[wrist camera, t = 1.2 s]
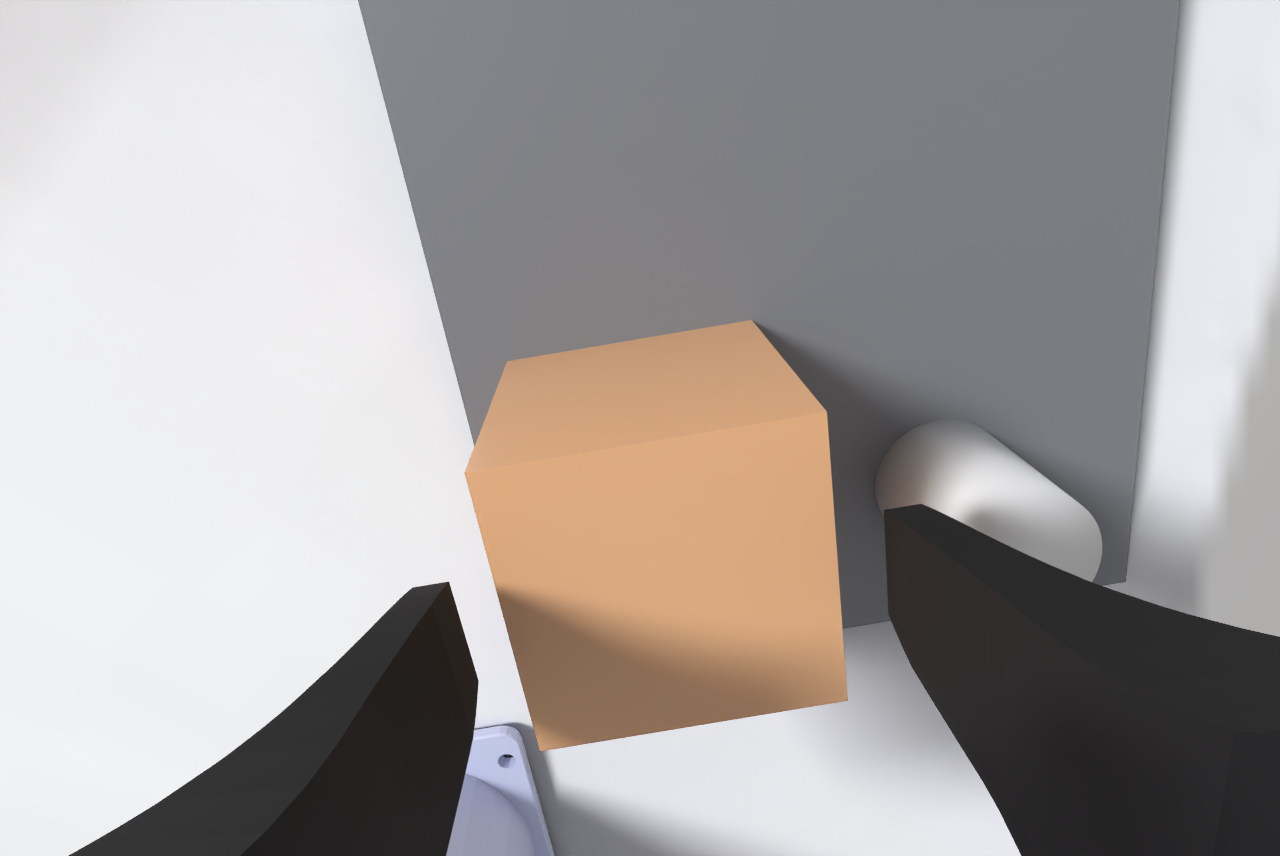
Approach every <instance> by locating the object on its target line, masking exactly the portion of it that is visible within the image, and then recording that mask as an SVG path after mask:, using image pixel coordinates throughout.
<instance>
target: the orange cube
mask: <svg viewBox="0 0 1280 856" xmlns="http://www.w3.org/2000/svg"><path fill="white" fill-rule="evenodd" d="M465 476H466V480H467V484H468V487H469V491H470V495H471V498H472V502H473V506H474V509H475V513H476V517H477V521H478V524H479V528H480V532H481V535H482V539H483V543H484V546H485V550H486V554H487V558H488V561H489V565H490V569H491V572H492V576H493V580H494V583H495V587H496V591H497V595H498V598H499V602H500V606H501V609H502V613H503V617H504V620H505V624H506V628H507V632H508V635H509V639H510V643H511V646H512V650H513V654H514V657H515V661H516V665H517V669H518V672H519V676H520V680H521V683H522V687H523V691H524V694H525V698H526V702H527V705H528V709H529V713H530V717H531V720H532V724H533V728H534V731H535V735H536V739H537V742H538V746H539V750H540V751H545V750H551V749H557V748H563V747H570V746H576V745H582V744H588V743H594V742H600V741H606V740H612V739H618V738H624V737H630V736H636V735H642V734H648V733H654V732H660V731H666V730H673V729H679V728H685V727H691V726H697V725H703V724H709V723H715V722H721V721H727V720H733V719H739V718H745V717H751V716H757V715H763V714H769V713H776V712H782V711H788V710H794V709H800V708H806V707H812V706H818V705H824V704H830V703H836V702H842V701H848V698H847V684H846V670H845V656H844V643H843V629H842V615H841V601H840V587H839V573H838V559H837V545H836V531H835V517H834V503H833V489H832V475H831V462H830V448H829V434H828V420H827V411H826V410H825V409H824V408H823V407H822V405H821V404H820V403H819V402H818V400H817V399H816V398H815V397H814V396H813V394H812V393H811V392H810V391H809V389H808V388H807V387H806V386H805V385H804V383H803V382H802V381H801V380H800V378H799V377H798V376H797V375H796V373H795V372H794V371H793V370H792V369H791V367H790V366H789V365H788V364H787V362H786V361H785V360H784V359H783V358H782V356H781V355H780V354H779V353H778V351H777V350H776V349H775V348H774V347H773V345H772V344H771V343H770V342H769V340H768V339H767V338H766V337H765V336H764V334H763V333H762V332H761V331H760V329H759V328H758V327H757V326H756V325H755V323H754V322H753V321H752V320H749V321H743V322H737V323H731V324H725V325H719V326H713V327H707V328H701V329H696V330H690V331H684V332H678V333H672V334H666V335H660V336H654V337H648V338H642V339H636V340H631V341H625V342H619V343H613V344H607V345H601V346H595V347H589V348H583V349H577V350H571V351H565V352H560V353H554V354H548V355H542V356H536V357H530V358H524V359H518V360H512V361H507V363H506V365H505V368H504V371H503V373H502V376H501V379H500V381H499V384H498V386H497V389H496V392H495V394H494V397H493V400H492V402H491V405H490V407H489V410H488V413H487V415H486V418H485V421H484V423H483V426H482V428H481V431H480V434H479V436H478V439H477V442H476V444H475V447H474V449H473V452H472V455H471V457H470V460H469V463H468V465H467V468H466V470H465Z"/></svg>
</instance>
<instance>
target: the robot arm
mask: <svg viewBox="0 0 1280 856" xmlns="http://www.w3.org/2000/svg"><path fill="white" fill-rule="evenodd" d="M884 526H885V549H886V572H887V596H888V614H889V617H890V619H891V621H892V624H893V626H894V628H895V631H896V633H897V635H898V638H899V640H900V642H901V644H902V647H903V649H904V651H905V653H906V655H907V657H908V660H909V662H910V664H911V666H912V668H913V669H914V671H915V673H916V674H917V676H918V678H919V680H920V681H921V683H922V684H923V686H924V688H925V689H926V691H927V693H928V694H929V696H930V697H931V699H932V701H933V702H934V704H935V706H936V707H937V709H938V710H939V712H940V714H941V715H942V717H943V718H944V720H945V722H946V723H947V725H948V726H949V728H950V730H951V731H952V733H953V734H954V736H955V738H956V739H957V741H958V742H959V744H960V746H961V747H962V749H963V750H964V752H965V754H966V755H967V757H968V758H969V760H970V762H971V763H972V765H973V766H974V768H975V770H976V771H977V773H978V774H979V776H980V778H981V779H982V781H983V783H984V784H985V786H986V788H987V790H988V791H989V793H990V795H991V797H992V798H993V800H994V802H995V804H996V805H997V807H998V809H999V811H1000V813H1001V815H1002V817H1003V819H1004V821H1005V823H1006V825H1007V827H1008V829H1009V831H1010V833H1011V835H1012V837H1013V839H1014V841H1015V843H1016V845H1017V847H1018V849H1019V852H1020V854H1021V856H1280V637H1277V636H1273V635H1268V634H1264V633H1260V632H1255V631H1250V630H1246V629H1242V628H1238V627H1234V626H1230V625H1226V624H1223V623H1219V622H1215V621H1211V620H1208V619H1204V618H1200V617H1196V616H1192V615H1189V614H1185V613H1182V612H1179V611H1175V610H1172V609H1168V608H1165V607H1162V606H1159V605H1156V604H1153V603H1150V602H1147V601H1144V600H1141V599H1138V598H1135V597H1132V596H1129V595H1126V594H1123V593H1120V592H1117V591H1114V590H1111V589H1109V588H1106V587H1103V586H1101V585H1098V584H1095V583H1093V582H1090V581H1087V580H1085V579H1083V578H1080V577H1078V576H1075V575H1073V574H1071V573H1068V572H1066V571H1063V570H1061V569H1059V568H1056V567H1054V566H1051V565H1049V564H1047V563H1045V562H1042V561H1040V560H1038V559H1036V558H1034V557H1031V556H1029V555H1027V554H1025V553H1023V552H1021V551H1018V550H1016V549H1014V548H1012V547H1010V546H1008V545H1006V544H1004V543H1002V542H1000V541H998V540H996V539H994V538H992V537H990V536H987V535H985V534H983V533H981V532H979V531H977V530H975V529H973V528H971V527H969V526H967V525H965V524H964V523H962V522H960V521H958V520H956V519H953V518H951V517H949V516H947V515H945V514H943V513H941V512H939V511H937V510H935V509H933V508H930V507H928V506H926V505H923V504H916V505H910V506H904V507H898V508H892V509H886V510H884ZM477 693H478V678H477V675H476V671H475V668H474V665H473V661H472V658H471V654H470V651H469V648H468V644H467V641H466V638H465V634H464V631H463V628H462V624H461V621H460V618H459V614H458V611H457V607H456V604H455V601H454V597H453V594H452V591H451V587H450V584H449V582H445V583H438V584H432V585H426V586H420V587H414V588H412V589H411V590H409V591H408V592H407V593H406V594H405V595H404V596H403V597H401V598H400V599H399V600H398V601H397V602H396V603H395V604H394V605H393V606H392V607H391V608H390V609H389V610H388V611H387V612H386V613H385V614H384V615H383V616H382V617H381V618H380V619H379V620H378V621H377V622H376V623H375V624H374V625H373V626H372V627H371V629H370V630H369V631H368V632H367V633H366V634H365V635H364V636H363V637H362V638H361V639H360V640H359V641H358V642H357V643H355V644H354V645H353V646H352V647H351V648H350V649H349V650H348V651H347V652H346V653H345V654H344V655H343V656H342V657H341V658H340V659H339V660H338V661H337V662H336V663H335V664H334V665H333V666H332V667H331V668H330V669H329V670H328V671H327V672H326V673H325V674H323V675H322V676H321V677H320V678H319V679H318V680H317V681H316V682H315V683H314V684H313V685H311V686H310V687H309V688H308V689H307V690H306V691H305V692H304V693H303V694H302V695H301V696H299V697H298V698H297V699H296V700H295V701H294V702H293V703H292V704H291V705H290V706H288V707H287V708H286V709H285V710H284V711H283V712H281V713H280V714H279V715H278V716H277V717H276V718H274V719H273V720H272V721H271V722H269V723H268V724H267V725H266V726H265V727H263V728H262V729H261V730H260V731H258V732H257V733H256V734H254V735H253V736H252V737H251V738H249V739H248V740H247V741H245V742H244V743H243V744H241V745H240V746H239V747H238V748H236V749H235V750H234V751H232V752H231V753H230V754H228V755H227V756H226V757H224V758H223V759H222V760H220V761H219V762H217V763H216V764H214V765H213V766H212V767H210V768H209V769H207V770H206V771H204V772H203V773H201V774H200V775H198V776H197V777H195V778H194V779H192V780H191V781H189V782H188V783H187V784H185V785H184V786H182V787H181V788H179V789H178V790H176V791H175V792H173V793H172V794H170V795H169V796H167V797H166V798H164V799H163V800H161V801H160V802H159V803H157V804H155V805H154V806H152V807H151V808H149V809H147V810H146V811H144V812H143V813H141V814H139V815H138V816H136V817H134V818H133V819H131V820H129V821H128V822H126V823H124V824H123V825H121V826H120V827H118V828H116V829H115V830H113V831H111V832H109V833H108V834H106V835H104V836H102V837H101V838H99V839H97V840H95V841H94V842H92V843H90V844H88V845H87V846H85V847H83V848H81V849H80V850H78V851H76V852H74V853H73V854H71V855H69V856H555V855H554V851H553V848H552V844H551V841H550V837H549V833H548V830H547V826H546V823H545V819H544V815H543V812H542V808H541V805H540V801H539V798H538V794H537V790H536V787H535V783H534V780H533V776H532V773H531V769H530V765H529V762H528V758H527V755H526V751H525V748H524V744H523V740H522V737H521V735H520V733H519V731H517V730H516V729H515V728H513V727H510V726H496V727H490V728H484V729H478V730H474V726H475V717H476V706H477ZM504 754H510V755H512V756H514V757H511V758H505V757H503V756H502V755H504Z"/></svg>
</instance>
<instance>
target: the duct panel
mask: <svg viewBox="0 0 1280 856" xmlns="http://www.w3.org/2000/svg"><path fill="white" fill-rule="evenodd" d="M358 2H359V6H360V9H361V13H362V17H363V21H364V25H365V29H366V32H367V36H368V40H369V44H370V48H371V51H372V55H373V59H374V63H375V67H376V71H377V74H378V78H379V82H380V86H381V90H382V94H383V97H384V101H385V105H386V109H387V113H388V117H389V120H390V124H391V128H392V132H393V136H394V140H395V143H396V147H397V151H398V155H399V159H400V163H401V166H402V170H403V174H404V178H405V182H406V185H407V189H408V193H409V197H410V201H411V205H412V208H413V212H414V216H415V220H416V224H417V228H418V231H419V235H420V239H421V243H422V247H423V251H424V254H425V258H426V262H427V266H428V270H429V274H430V277H431V281H432V285H433V289H434V293H435V297H436V300H437V304H438V308H439V312H440V316H441V319H442V323H443V327H444V331H445V335H446V339H447V342H448V346H449V350H450V354H451V358H452V362H453V365H454V369H455V373H456V377H457V381H458V385H459V388H460V392H461V396H462V400H463V404H464V408H465V411H466V415H467V419H468V423H469V427H470V431H471V434H472V438H473V442H474V446H475V444H476V442H477V439H478V436H479V434H480V431H481V428H482V426H483V423H484V421H485V418H486V415H487V413H488V410H489V407H490V405H491V402H492V400H493V397H494V394H495V392H496V389H497V386H498V384H499V381H500V379H501V376H502V373H503V371H504V368H505V365H506V363H507V361H512V360H518V359H524V358H530V357H536V356H542V355H548V354H554V353H560V352H565V351H571V350H577V349H583V348H589V347H595V346H601V345H607V344H613V343H619V342H625V341H631V340H636V339H642V338H648V337H654V336H660V335H666V334H672V333H678V332H684V331H690V330H696V329H701V328H707V327H713V326H719V325H725V324H731V323H737V322H743V321H749V320H752V321H753V322H754V323H755V325H756V326H757V327H758V328H759V329H760V331H761V332H762V333H763V334H764V336H765V337H766V338H767V339H768V340H769V342H770V343H771V344H772V345H773V347H774V348H775V349H776V350H777V351H778V353H779V354H780V355H781V356H782V358H783V359H784V360H785V361H786V362H787V364H788V365H789V366H790V367H791V369H792V370H793V371H794V372H795V373H796V375H797V376H798V377H799V378H800V380H801V381H802V382H803V383H804V385H805V386H806V387H807V388H808V389H809V391H810V392H811V393H812V394H813V396H814V397H815V398H816V399H817V400H818V402H819V403H820V404H821V405H822V407H823V408H824V409H825V410H826V411H827V420H828V434H829V448H830V462H831V475H832V489H833V503H834V517H835V531H836V545H837V559H838V573H839V587H840V601H841V615H842V629H843V628H849V627H855V626H861V625H867V624H873V623H879V622H885V621H891V619H890V617H889V614H888V596H887V572H886V549H885V526H884V510H886V509H892V508H898V507H904V506H910V505H916V504H923V505H926V506H928V507H930V508H933V509H935V510H937V511H939V512H941V513H943V514H945V515H947V516H949V517H951V518H953V519H956V520H958V521H960V522H962V523H964V524H965V525H967V526H969V527H971V528H973V529H975V530H977V531H979V532H981V533H983V534H985V535H987V536H990V537H992V538H994V539H996V540H998V541H1000V542H1002V543H1004V544H1006V545H1008V546H1010V547H1012V548H1014V549H1016V550H1018V551H1021V552H1023V553H1025V554H1027V555H1029V556H1031V557H1034V558H1036V559H1038V560H1040V561H1042V562H1045V563H1047V564H1049V565H1051V566H1054V567H1056V568H1059V569H1061V570H1063V571H1066V572H1068V573H1071V574H1073V575H1075V576H1078V577H1080V578H1083V579H1085V580H1087V581H1090V582H1093V583H1095V584H1098V585H1101V586H1102V585H1108V584H1114V583H1120V582H1126V573H1127V562H1128V552H1129V541H1130V530H1131V519H1132V509H1133V498H1134V487H1135V477H1136V466H1137V455H1138V444H1139V434H1140V423H1141V412H1142V401H1143V391H1144V380H1145V369H1146V358H1147V348H1148V337H1149V326H1150V315H1151V305H1152V294H1153V283H1154V272H1155V262H1156V251H1157V240H1158V229H1159V219H1160V208H1161V197H1162V186H1163V176H1164V165H1165V154H1166V143H1167V133H1168V122H1169V111H1170V100H1171V90H1172V79H1173V68H1174V57H1175V47H1176V36H1177V25H1178V14H1179V4H1180V0H358Z"/></svg>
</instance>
